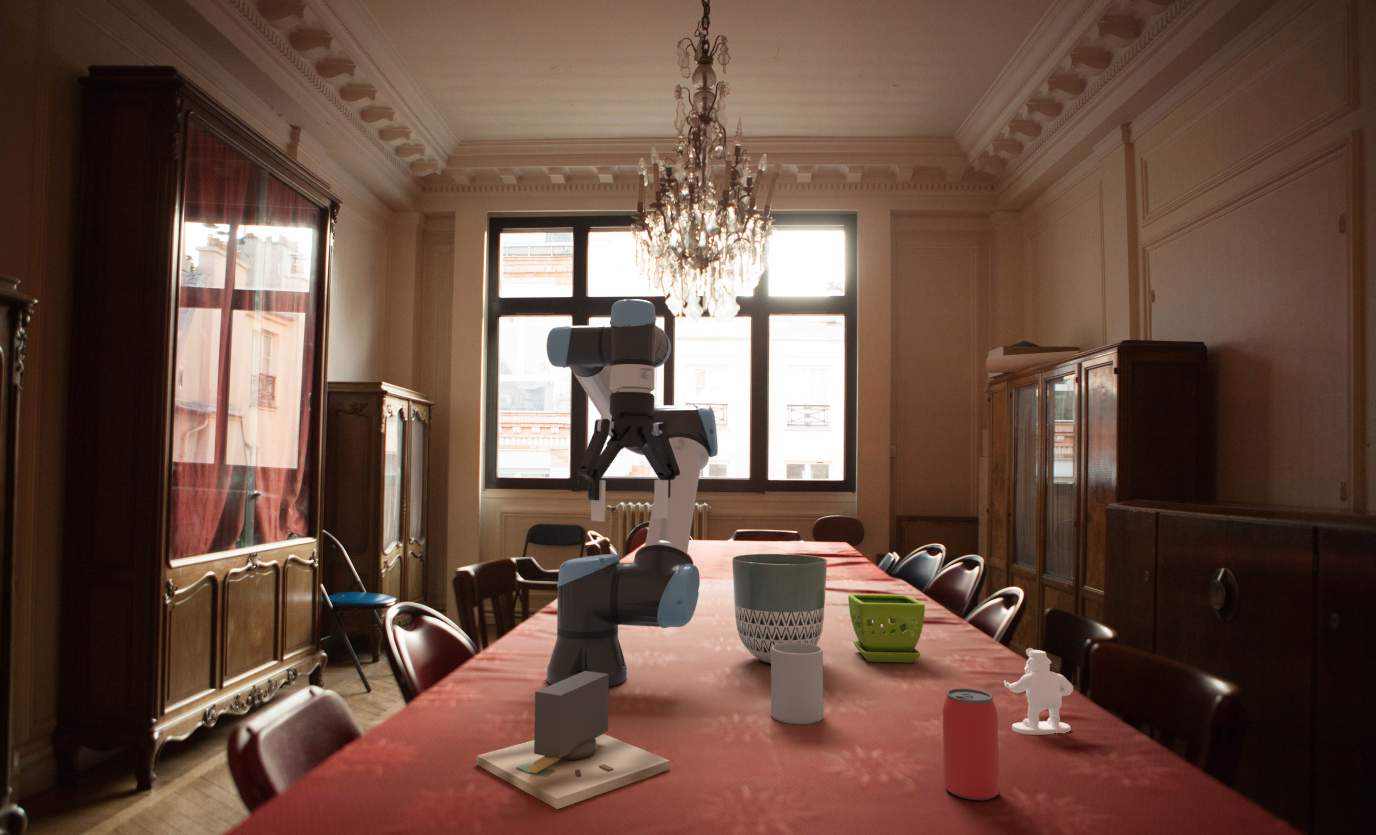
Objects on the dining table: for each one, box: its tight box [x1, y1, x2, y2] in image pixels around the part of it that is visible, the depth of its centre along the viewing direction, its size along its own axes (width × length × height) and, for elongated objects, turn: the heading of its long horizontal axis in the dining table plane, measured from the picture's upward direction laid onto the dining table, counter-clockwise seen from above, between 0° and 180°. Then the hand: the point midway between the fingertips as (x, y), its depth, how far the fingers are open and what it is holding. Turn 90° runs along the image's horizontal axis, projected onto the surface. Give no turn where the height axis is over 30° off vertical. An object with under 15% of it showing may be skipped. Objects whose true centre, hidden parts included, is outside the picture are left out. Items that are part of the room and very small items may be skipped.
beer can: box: [942, 687, 1000, 801], centre depth 99 cm, size 7×7×12 cm
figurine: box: [1003, 647, 1074, 736], centre depth 123 cm, size 9×7×12 cm
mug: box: [770, 643, 824, 725], centre depth 130 cm, size 12×8×11 cm
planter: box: [731, 553, 828, 664], centre depth 165 cm, size 20×20×21 cm
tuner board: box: [476, 733, 671, 810], centre depth 106 cm, size 19×18×1 cm
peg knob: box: [529, 671, 609, 773], centre depth 106 cm, size 15×6×9 cm, turn 155°
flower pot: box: [848, 593, 926, 664], centre depth 169 cm, size 14×14×13 cm
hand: (630, 519), depth 130 cm, fingers open, 13 cm apart
